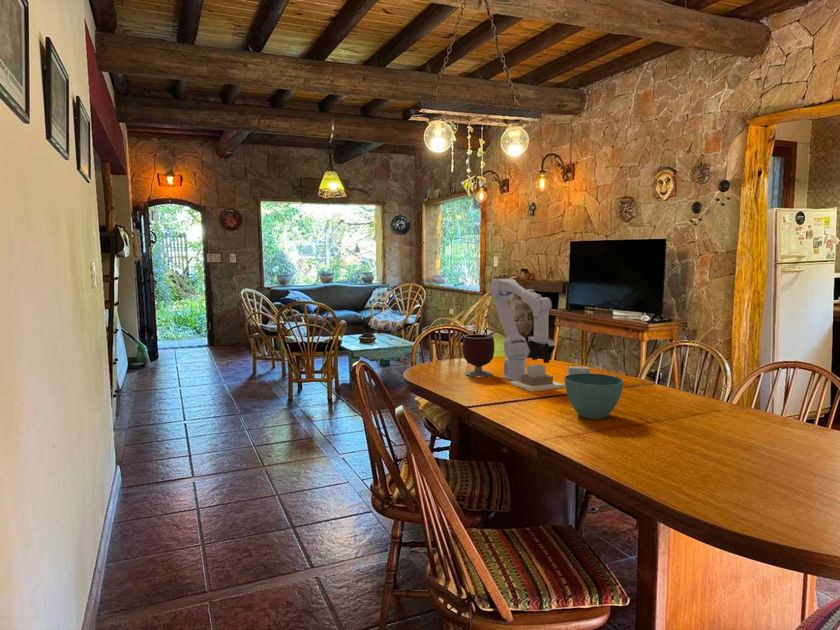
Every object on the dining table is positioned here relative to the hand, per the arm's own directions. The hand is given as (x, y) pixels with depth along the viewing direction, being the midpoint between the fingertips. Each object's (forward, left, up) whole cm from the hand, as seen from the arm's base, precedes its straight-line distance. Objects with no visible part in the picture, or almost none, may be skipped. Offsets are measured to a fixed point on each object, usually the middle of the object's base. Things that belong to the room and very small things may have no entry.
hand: (540, 361), depth 230 cm
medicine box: (+13, +9, -10) cm, 18 cm away
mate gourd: (-29, -10, -10) cm, 33 cm away
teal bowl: (+45, -13, -10) cm, 48 cm away
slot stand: (+1, -2, -10) cm, 10 cm away
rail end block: (+1, -2, -8) cm, 9 cm away
